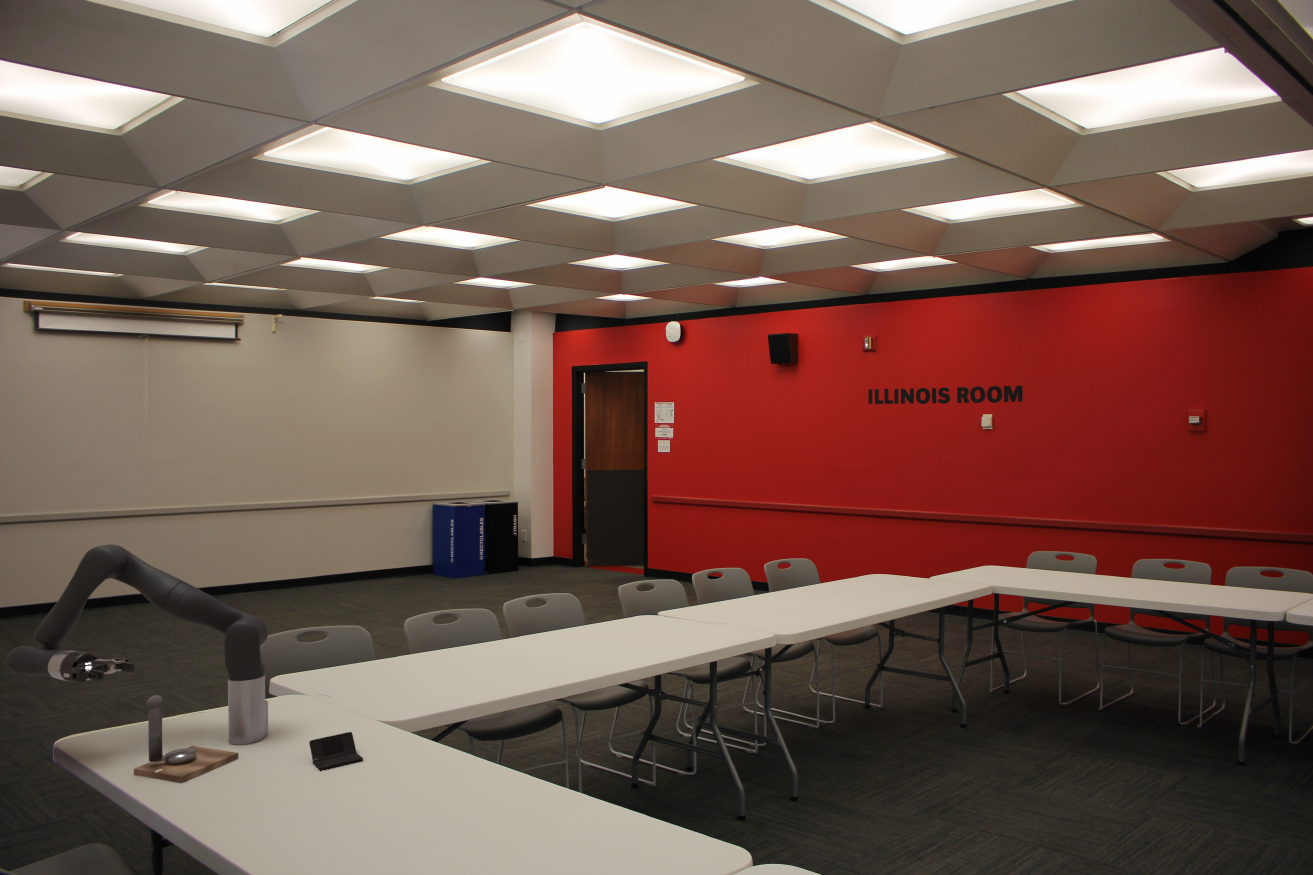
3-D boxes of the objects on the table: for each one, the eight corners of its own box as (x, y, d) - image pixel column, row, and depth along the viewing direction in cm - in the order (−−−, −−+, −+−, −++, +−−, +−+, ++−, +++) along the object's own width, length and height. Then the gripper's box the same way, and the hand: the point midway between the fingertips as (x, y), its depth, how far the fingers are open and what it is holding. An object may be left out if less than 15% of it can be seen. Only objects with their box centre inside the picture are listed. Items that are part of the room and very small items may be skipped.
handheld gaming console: (324, 766, 214) (317, 728, 219) (311, 779, 217) (305, 741, 222) (367, 761, 222) (359, 724, 227) (354, 773, 225) (347, 736, 230)
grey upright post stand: (194, 751, 224) (193, 686, 224) (198, 759, 218) (197, 692, 218) (146, 760, 218) (145, 693, 218) (148, 769, 212) (147, 699, 212)
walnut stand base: (192, 751, 230) (192, 744, 230) (238, 758, 224) (238, 751, 224) (133, 774, 214) (133, 767, 214) (181, 782, 209) (181, 775, 209)
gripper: (45, 658, 219) (91, 663, 213) (99, 645, 232) (143, 650, 226) (45, 687, 219) (91, 694, 213) (99, 673, 232) (143, 679, 226)
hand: (118, 671), depth 220 cm, fingers open, 7 cm apart
